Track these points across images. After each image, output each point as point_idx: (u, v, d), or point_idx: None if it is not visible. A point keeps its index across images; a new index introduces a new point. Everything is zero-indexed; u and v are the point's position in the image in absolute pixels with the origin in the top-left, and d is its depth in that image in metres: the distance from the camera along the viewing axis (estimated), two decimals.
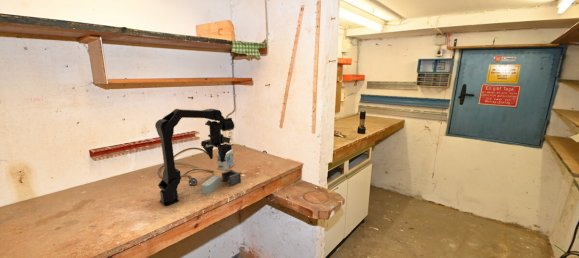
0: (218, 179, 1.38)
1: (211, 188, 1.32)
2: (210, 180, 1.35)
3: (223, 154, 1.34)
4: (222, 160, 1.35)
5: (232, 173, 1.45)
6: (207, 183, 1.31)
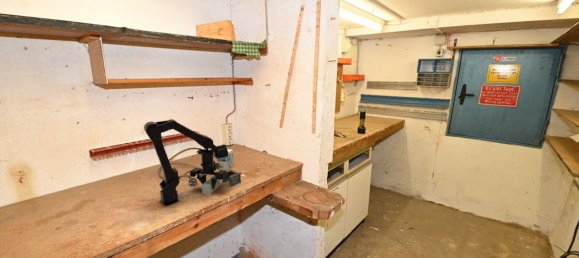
0: (218, 179, 1.38)
1: (212, 188, 1.32)
2: (210, 180, 1.35)
3: (215, 181, 1.32)
4: (214, 187, 1.32)
5: (232, 173, 1.45)
6: (207, 183, 1.31)
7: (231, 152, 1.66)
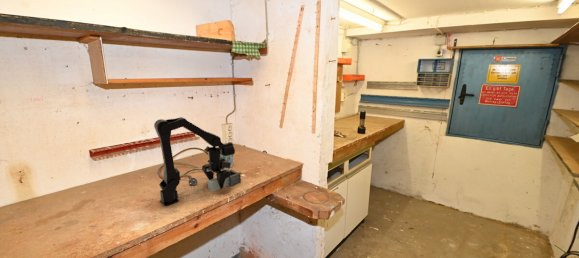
0: (228, 178, 1.39)
1: (216, 186, 1.34)
2: None
3: (222, 180, 1.32)
4: (221, 186, 1.33)
5: (232, 173, 1.45)
6: (213, 180, 1.34)
7: None
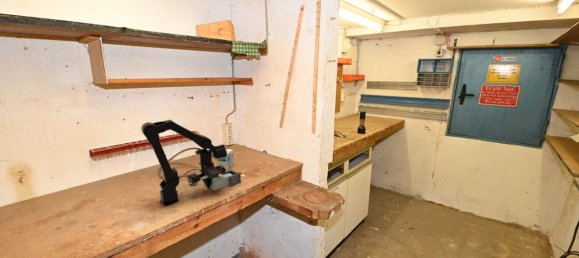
0: None
1: (218, 184, 1.35)
2: (221, 177, 1.39)
3: (205, 181, 1.31)
4: (206, 186, 1.32)
5: (232, 173, 1.45)
6: (214, 179, 1.35)
7: (231, 152, 1.66)
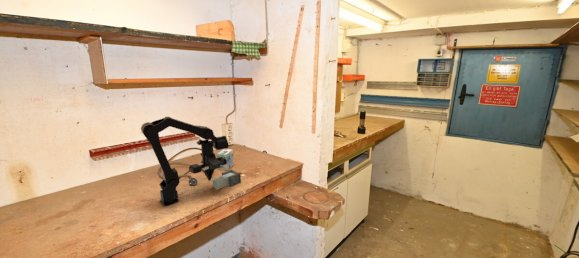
0: None
1: (221, 184, 1.37)
2: (223, 176, 1.40)
3: None
4: (207, 178, 1.32)
5: None
6: (217, 178, 1.37)
7: (231, 152, 1.66)
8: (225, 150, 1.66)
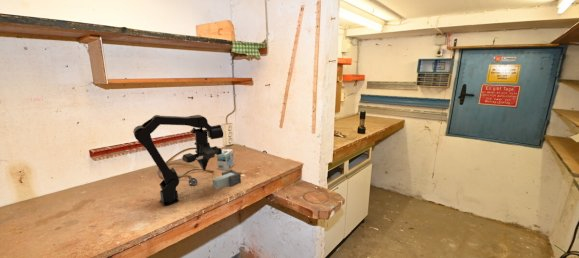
0: None
1: (221, 184, 1.37)
2: (223, 176, 1.40)
3: (200, 162, 1.28)
4: (202, 168, 1.29)
5: None
6: (217, 178, 1.37)
7: (231, 152, 1.66)
8: (225, 150, 1.66)
